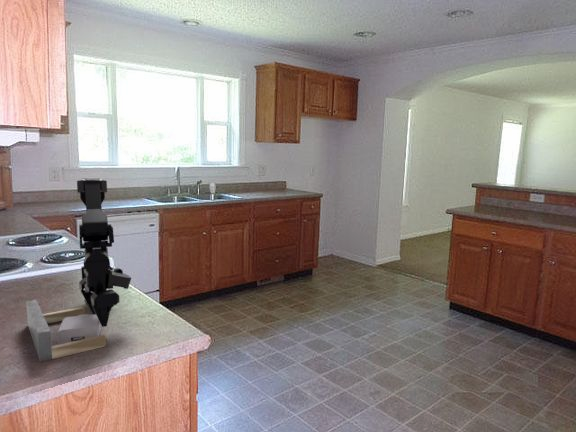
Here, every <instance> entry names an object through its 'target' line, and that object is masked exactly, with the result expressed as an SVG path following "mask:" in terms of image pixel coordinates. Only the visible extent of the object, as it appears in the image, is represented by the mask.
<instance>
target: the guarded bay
mask: <svg viewBox="0 0 576 432" xmlns="http://www.w3.org/2000/svg"><path fill="white" fill-rule="evenodd" d="M25 303H26V304H25V306H26V307H25V308H26V317H27V318H26V319H27V328H28V330H29V333H30V336H31V339H32V342H33V346H34V347H35V352H36V354H37V357H38V360H39V362H40V363H41V362H45V361H49V360H54V359H58V358H62V357H67V356H70V355H75V354H79V353H84V352H89V351H91V350H96V349H100V348H103V347H105V348H106V347H107V340H106V339H107V338H106V335H105V334H101V335H100V334H99V336H96V337H91V338H87V339H82V340H78V341H73V342H69V343H64V344H60V345H58V344H55V345H52V337H51V329H50V327H49V325H48V324H53V323H58V322H62V321H63V319H64V318H66V317H73V316H78V315H85V314H86V307H85V306H79V307H76V308H75V307H74V308H69V309H64V310H58V311H54V312H48V313H43V311H42V309H41V307H40V304H39V302H38V300H37V299H33V300H27V301H25Z"/></svg>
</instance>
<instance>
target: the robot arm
mask: <svg viewBox="0 0 576 432" xmlns="http://www.w3.org/2000/svg"><path fill="white" fill-rule="evenodd" d="M76 191H77V192H76V193H77V194H79V197H80V201H82V203H83V204H84V206H85V209H86V210H85V211H86V212H85V213H84V214H83V215H82V216H81V224H79V225H78V228H79V229H78V230H79V249H80V250H83V249H84V260H83V265H82V266H81V268H80V269H81V280H80V281H79V282H78V288H79V290H80V293H81V295H82V297H83V298H84V300H85V303H86V304H87V306H88V308H89V309H90V312H91V315H97V317H98V319H99V322H100V324H101V328H104V327H107V325H108V321H109V318H110V313H111V310H112V308H113V307H114V306H117V304H119V303H120V294H119V293H117V292H116V291H115V290H114V287H119V288H123V289H125V290H128V289H129V287H130V285H131V281H132V277H131V276H130V275H129V274H127V273H124V271H123V269H122V268H118V267H115V269H113V267H112V266H111V261H110V258H109V257H110V256H109V254H108V253H109V250H108V249H109V248H111V247H113V243H115V238H114V237H115V236H114V235H115V234H114V227H113V225H112V224H111V223H110V222H108V216H107V214H105V213H104V212H103V209H102V208H103V207H102V204H103V203H104V200H105V198H106V196H105V195H106V194H107V193H108V183H107V180H103V178H89V177H88V178H85V177H84V178H82V177H81V180H77V181H76Z"/></svg>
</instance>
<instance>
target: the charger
mask: <svg viewBox="0 0 576 432" xmlns="http://www.w3.org/2000/svg"><path fill="white" fill-rule="evenodd" d="M60 323H61V324H60V325H59V328H58V331H57V332H56V341H57V342H56V343H57V344H56V345H60V344H64V343H69V342H73V341H78V340H82V339H87V338H91V337H96V336H100V334H101V330H102V329H101V328H102V326H101V324H100V322H99V319H98V317H97V315H93V314H89V313H85V315H78V316H73V317H66V318H64V319H63V321H61V322H60Z"/></svg>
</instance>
